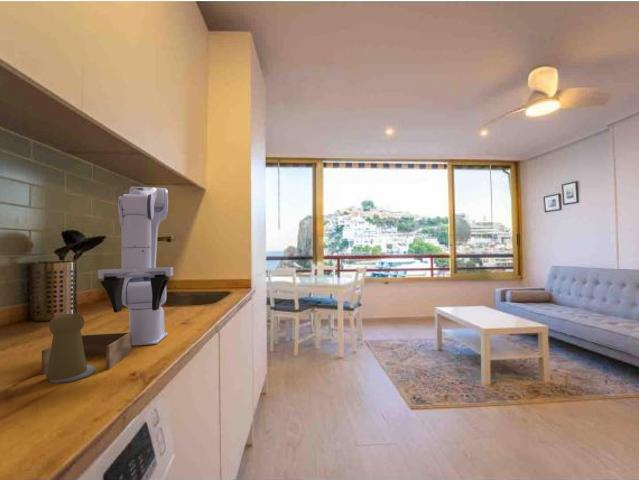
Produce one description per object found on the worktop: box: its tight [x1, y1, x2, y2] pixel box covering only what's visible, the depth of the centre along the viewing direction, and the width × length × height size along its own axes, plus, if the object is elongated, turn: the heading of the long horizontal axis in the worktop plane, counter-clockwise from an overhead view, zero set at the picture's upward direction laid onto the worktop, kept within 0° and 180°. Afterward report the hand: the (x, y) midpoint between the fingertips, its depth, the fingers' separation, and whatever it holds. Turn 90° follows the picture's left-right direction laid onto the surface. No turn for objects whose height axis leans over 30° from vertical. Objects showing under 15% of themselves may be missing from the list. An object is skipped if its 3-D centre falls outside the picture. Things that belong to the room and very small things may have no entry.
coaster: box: [48, 364, 96, 384], centre depth 61 cm, size 7×7×1 cm
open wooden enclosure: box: [41, 332, 133, 375], centre depth 68 cm, size 10×12×4 cm
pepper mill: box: [46, 313, 88, 381], centre depth 60 cm, size 6×6×11 cm
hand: (136, 310), depth 69 cm, fingers open, 7 cm apart
